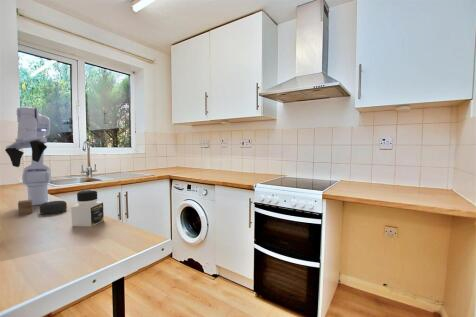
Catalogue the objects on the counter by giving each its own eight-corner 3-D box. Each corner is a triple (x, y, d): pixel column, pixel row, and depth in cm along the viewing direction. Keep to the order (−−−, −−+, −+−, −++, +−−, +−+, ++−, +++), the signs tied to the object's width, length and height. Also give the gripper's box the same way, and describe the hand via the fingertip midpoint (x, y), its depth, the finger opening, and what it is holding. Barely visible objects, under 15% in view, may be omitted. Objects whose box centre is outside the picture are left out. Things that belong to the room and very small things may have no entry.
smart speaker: (68, 212, 98) (67, 203, 97) (40, 216, 92) (40, 206, 91) (65, 208, 104) (64, 199, 104) (39, 212, 98) (38, 202, 98)
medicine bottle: (91, 227, 80) (90, 192, 79) (71, 226, 80) (69, 192, 79) (104, 220, 87) (103, 188, 86) (85, 220, 87) (84, 188, 87)
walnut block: (19, 212, 96) (19, 201, 96) (32, 211, 99) (31, 199, 98) (18, 215, 93) (18, 202, 93) (32, 213, 96) (31, 201, 95)
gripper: (-1, 133, 89) (-4, 165, 85) (36, 123, 90) (35, 154, 86) (16, 140, 96) (14, 170, 92) (51, 131, 97) (51, 161, 92)
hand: (25, 163), depth 89 cm, fingers open, 7 cm apart
